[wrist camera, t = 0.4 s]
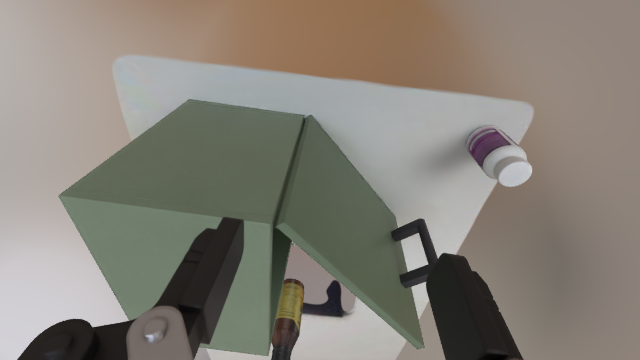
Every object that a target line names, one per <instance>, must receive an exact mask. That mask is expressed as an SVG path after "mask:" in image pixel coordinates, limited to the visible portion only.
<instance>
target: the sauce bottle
mask: <svg viewBox="0 0 640 360" xmlns="http://www.w3.org/2000/svg"><path fill="white" fill-rule="evenodd" d="M303 298H304V286H303V284H302V283H301V282H300V281H298V280H296V279H286V280H284V281H283V286H282V291H281V296H280V301H279V306H278V311H277V316H276V321H275V326H274V331H273V336H272V341H271V342H272V345H273V348H274V349H273V351H272V353H273V354H272V359H271V360H290V356H291V352H292V349H293V347H294V345H295V343H296V341H297V339H298V337H299V333H300V324H301V316H302V307H303Z"/></svg>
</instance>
